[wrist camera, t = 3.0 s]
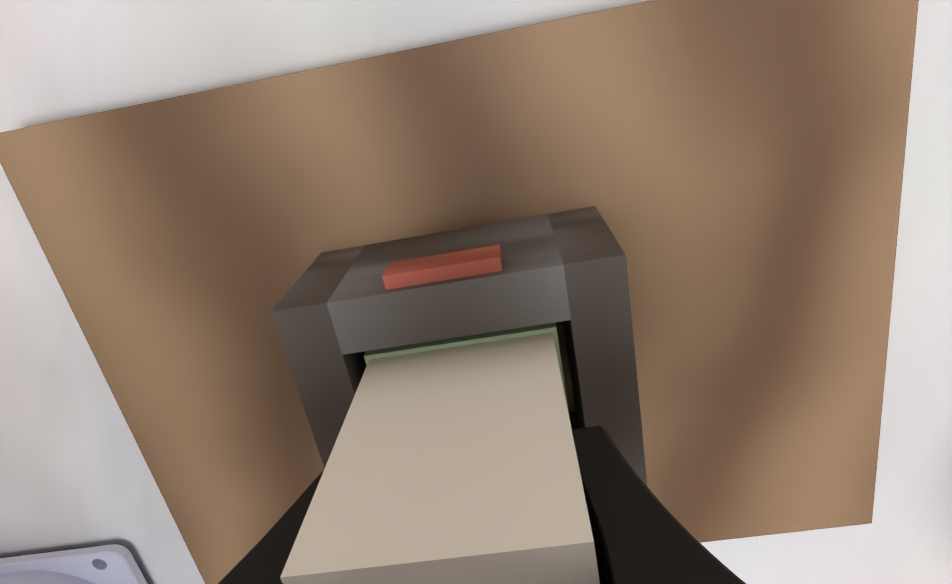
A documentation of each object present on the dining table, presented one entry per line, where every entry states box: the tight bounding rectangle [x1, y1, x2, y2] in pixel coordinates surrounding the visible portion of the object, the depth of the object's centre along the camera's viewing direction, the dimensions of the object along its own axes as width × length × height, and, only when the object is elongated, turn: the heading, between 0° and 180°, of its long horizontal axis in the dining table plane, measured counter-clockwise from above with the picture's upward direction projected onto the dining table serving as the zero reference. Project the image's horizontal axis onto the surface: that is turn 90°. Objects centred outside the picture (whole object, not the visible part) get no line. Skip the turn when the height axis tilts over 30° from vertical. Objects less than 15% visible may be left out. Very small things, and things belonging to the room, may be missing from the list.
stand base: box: [0, 0, 919, 584], centre depth 15 cm, size 22×16×5 cm
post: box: [280, 323, 600, 584], centre depth 12 cm, size 4×4×9 cm
